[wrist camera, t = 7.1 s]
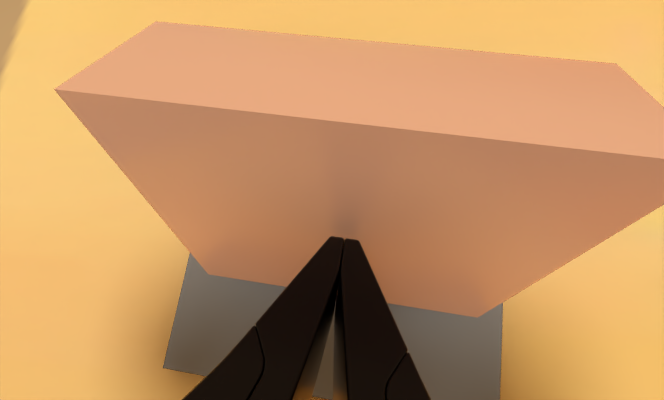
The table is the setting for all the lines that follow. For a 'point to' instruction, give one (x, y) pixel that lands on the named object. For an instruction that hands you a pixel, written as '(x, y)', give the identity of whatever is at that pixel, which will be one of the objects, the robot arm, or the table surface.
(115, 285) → the table surface
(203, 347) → the mat
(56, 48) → the table surface
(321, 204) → the salmon pink block
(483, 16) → the table surface
